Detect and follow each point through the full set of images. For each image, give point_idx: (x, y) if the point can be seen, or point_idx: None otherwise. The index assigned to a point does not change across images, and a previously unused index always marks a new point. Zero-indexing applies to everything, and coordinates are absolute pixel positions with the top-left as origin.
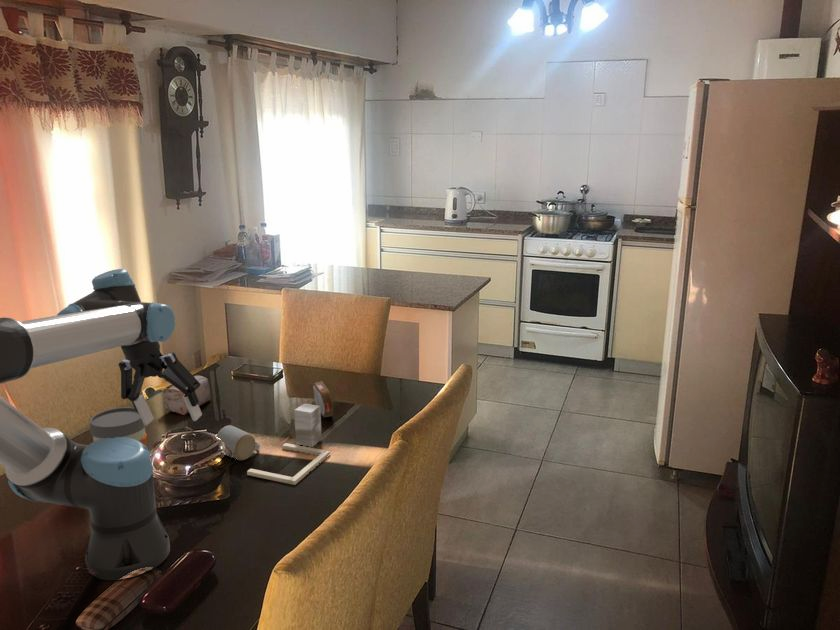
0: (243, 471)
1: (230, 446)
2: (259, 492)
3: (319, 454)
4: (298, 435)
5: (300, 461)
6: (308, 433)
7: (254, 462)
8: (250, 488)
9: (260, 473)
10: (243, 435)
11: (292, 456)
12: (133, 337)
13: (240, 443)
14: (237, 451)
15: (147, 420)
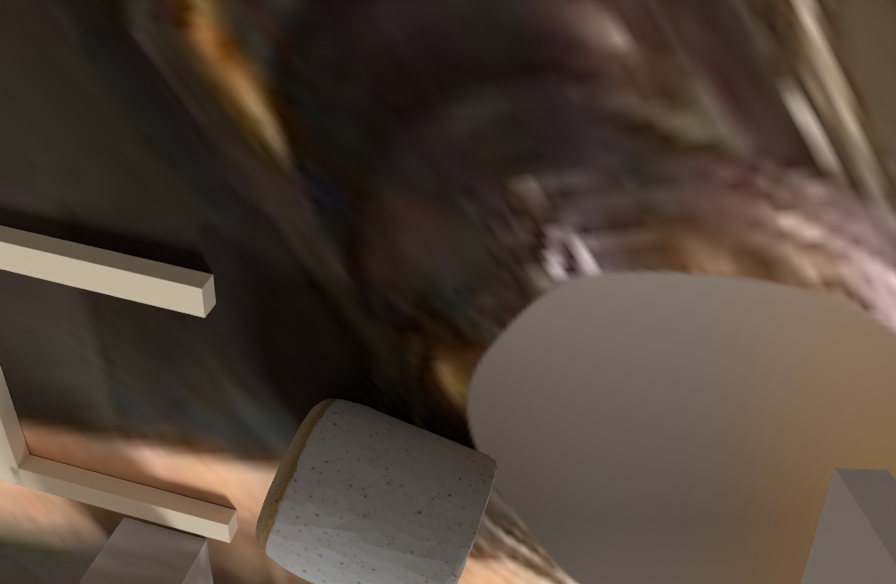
0: (260, 307)
1: (341, 460)
2: (10, 102)
3: (38, 463)
4: (165, 579)
5: (77, 413)
6: (99, 581)
7: (271, 395)
8: (88, 137)
9: (115, 272)
10: (269, 537)
11: (144, 451)
12: None
13: (274, 477)
14: (300, 428)
15: (848, 548)
